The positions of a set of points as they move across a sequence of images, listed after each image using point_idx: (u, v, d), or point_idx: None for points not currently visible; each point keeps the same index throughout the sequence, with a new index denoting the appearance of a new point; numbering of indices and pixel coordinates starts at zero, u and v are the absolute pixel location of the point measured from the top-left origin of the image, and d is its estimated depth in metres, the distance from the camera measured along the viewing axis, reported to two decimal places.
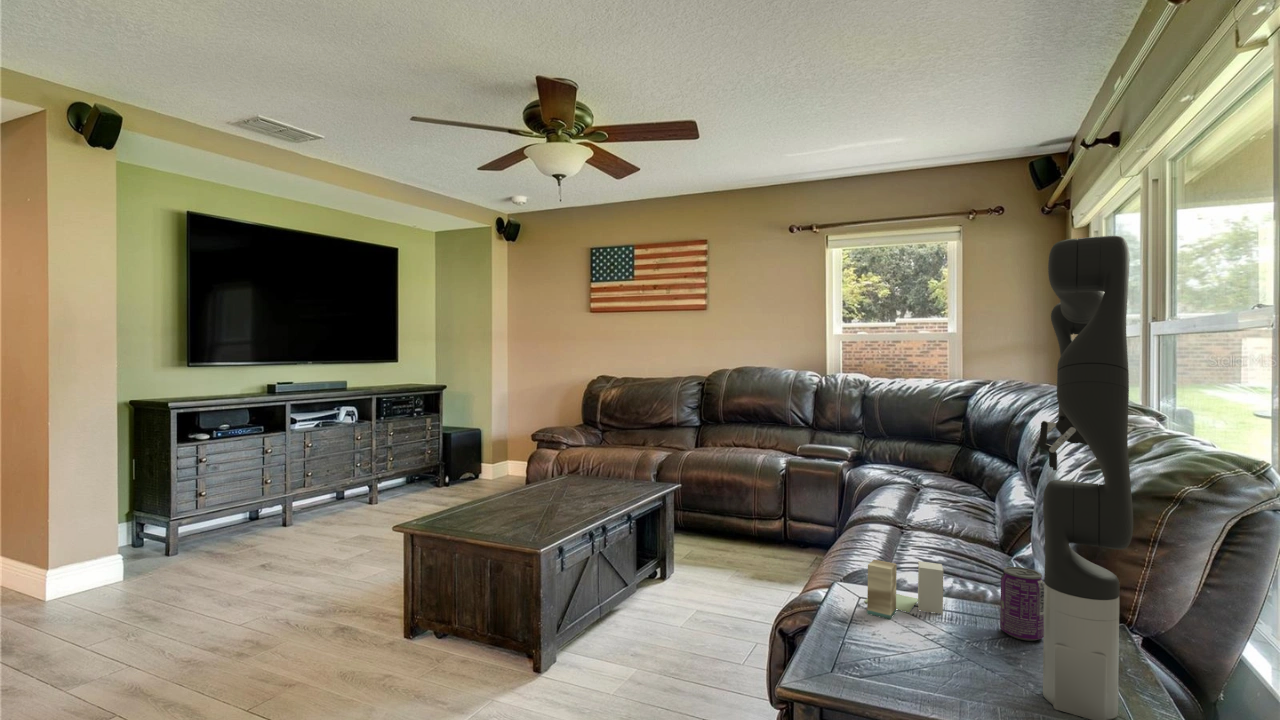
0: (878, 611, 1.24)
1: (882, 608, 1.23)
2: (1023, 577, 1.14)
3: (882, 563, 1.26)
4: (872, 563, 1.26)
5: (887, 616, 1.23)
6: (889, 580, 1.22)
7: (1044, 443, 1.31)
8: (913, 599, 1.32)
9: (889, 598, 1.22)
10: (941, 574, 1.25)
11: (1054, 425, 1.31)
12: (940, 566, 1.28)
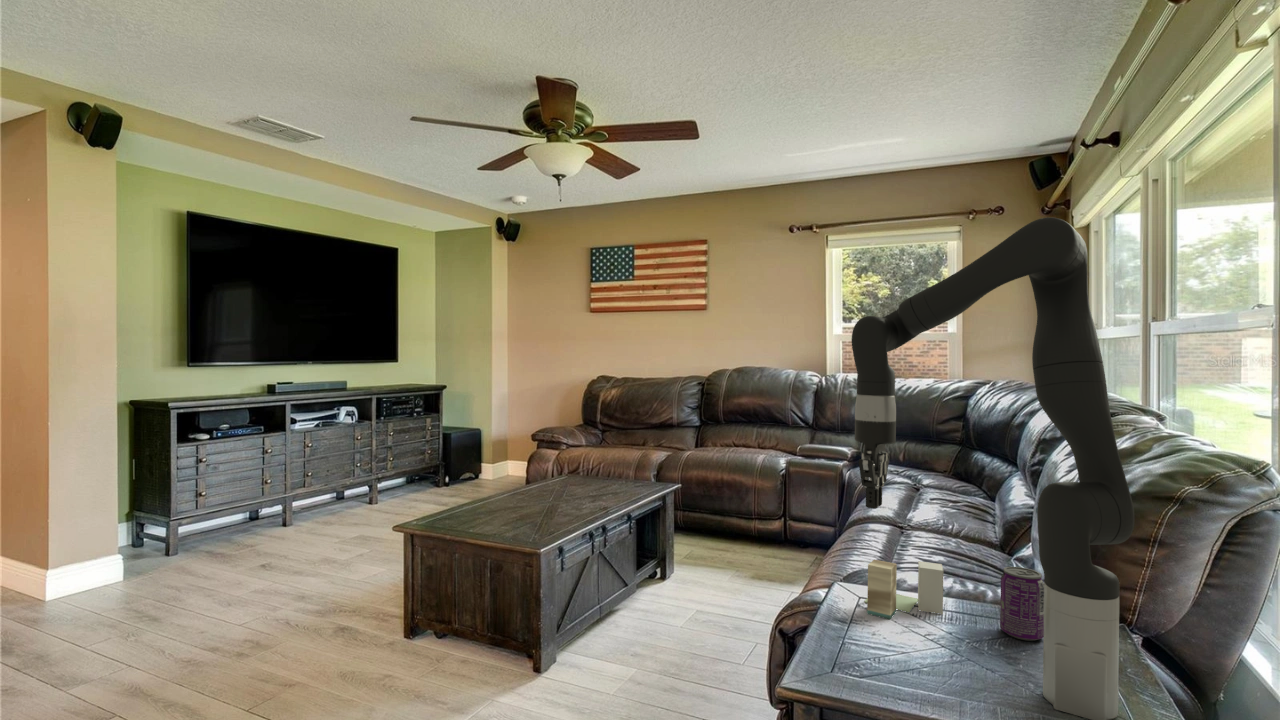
0: (878, 611, 1.24)
1: (882, 608, 1.23)
2: (1023, 577, 1.14)
3: (882, 563, 1.26)
4: (872, 563, 1.26)
5: (887, 616, 1.23)
6: (889, 580, 1.22)
7: (876, 480, 1.17)
8: (913, 599, 1.32)
9: (889, 598, 1.22)
10: (941, 574, 1.25)
11: (870, 458, 1.16)
12: (940, 566, 1.28)
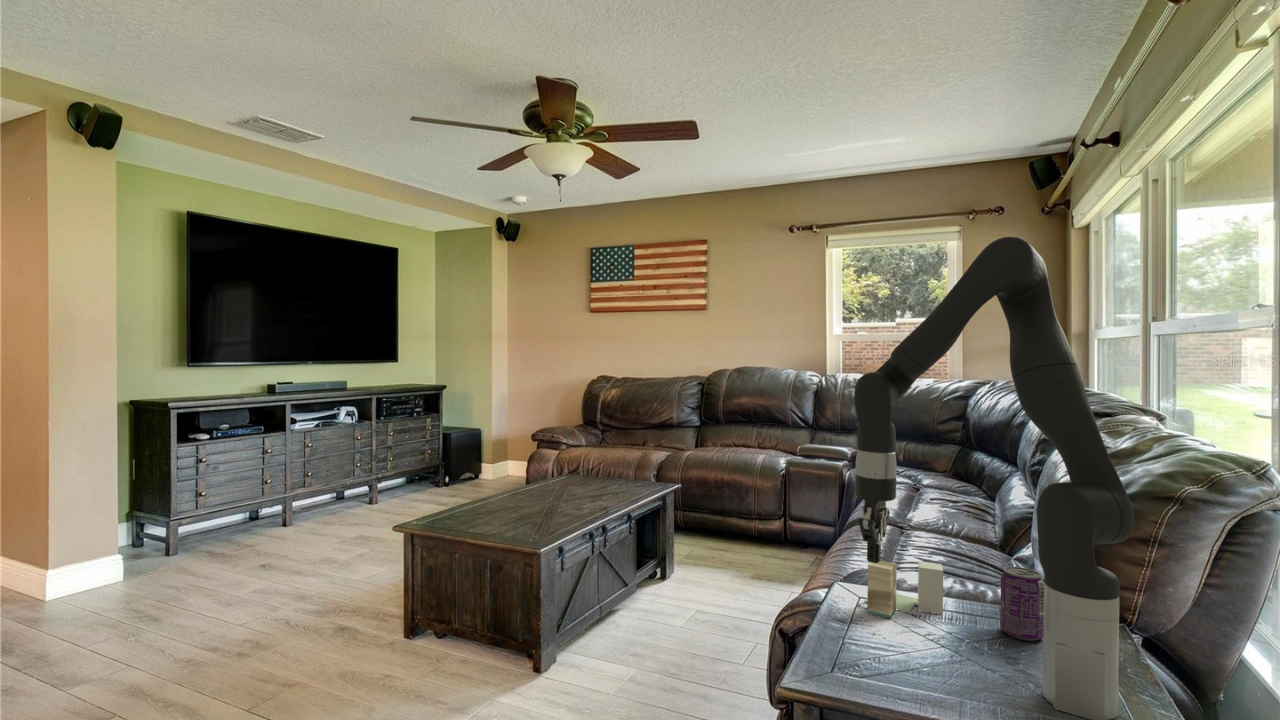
0: (878, 611, 1.24)
1: (882, 608, 1.23)
2: (1023, 577, 1.14)
3: (882, 563, 1.26)
4: (872, 563, 1.26)
5: (887, 616, 1.23)
6: (889, 580, 1.22)
7: (877, 536, 1.18)
8: (913, 599, 1.32)
9: (889, 598, 1.22)
10: (941, 574, 1.25)
11: (870, 516, 1.17)
12: (940, 566, 1.28)
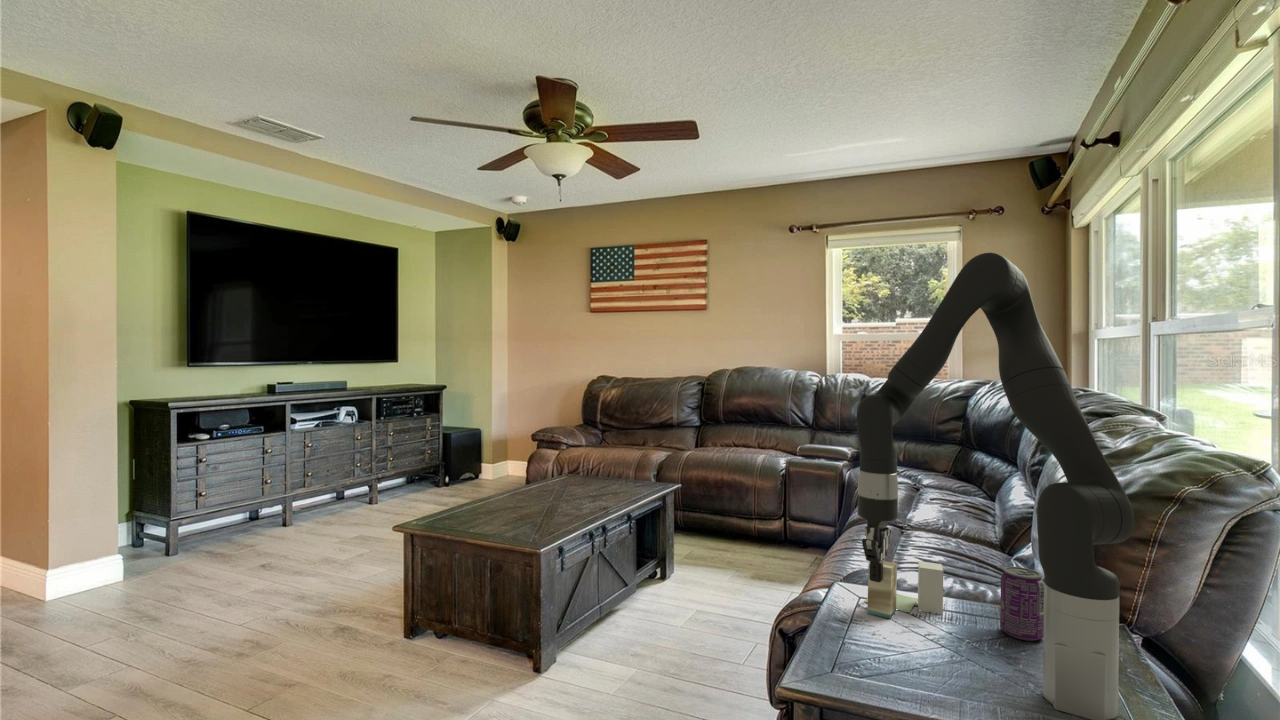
0: (878, 610, 1.24)
1: (882, 608, 1.23)
2: (1023, 577, 1.14)
3: (883, 563, 1.26)
4: None
5: (887, 615, 1.23)
6: (889, 579, 1.23)
7: (880, 556, 1.20)
8: (913, 599, 1.32)
9: (889, 597, 1.22)
10: (941, 574, 1.25)
11: (873, 536, 1.19)
12: (940, 566, 1.28)
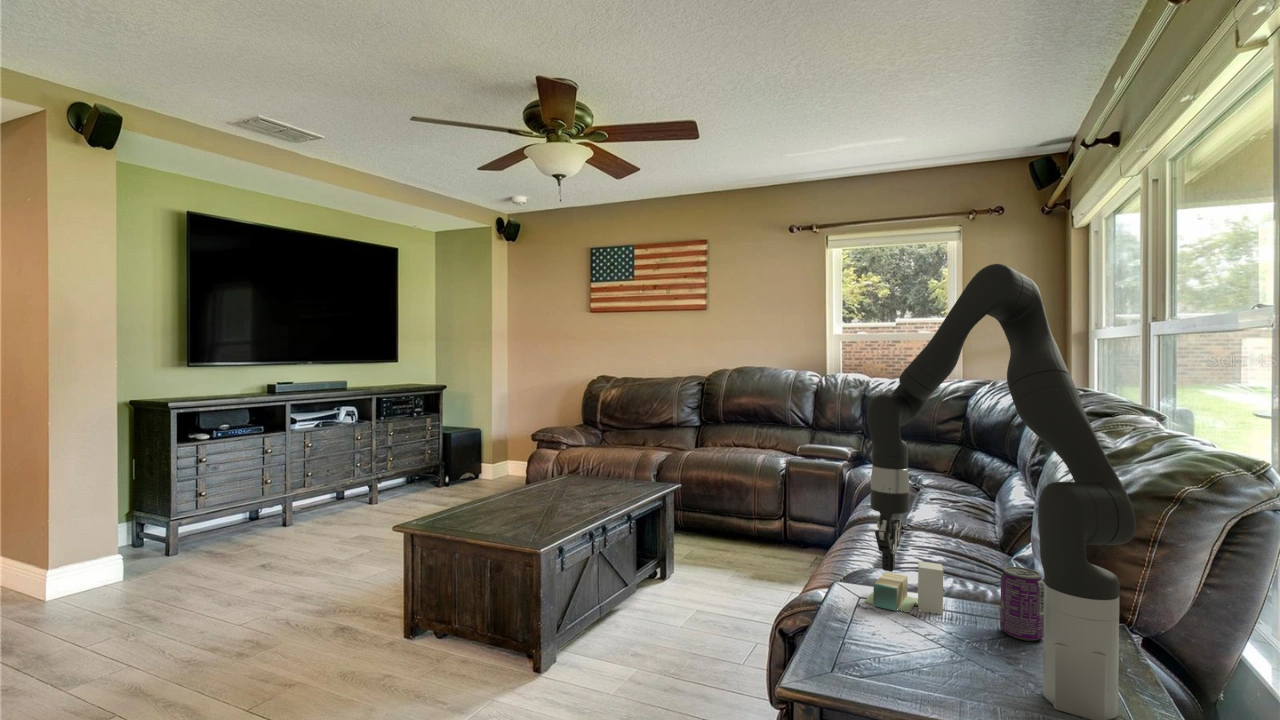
0: (885, 585, 1.28)
1: (890, 585, 1.28)
2: (1023, 577, 1.14)
3: None
4: None
5: (893, 587, 1.27)
6: (903, 578, 1.32)
7: (892, 547, 1.27)
8: (913, 599, 1.32)
9: (900, 583, 1.29)
10: (941, 574, 1.25)
11: (886, 527, 1.26)
12: (940, 566, 1.28)
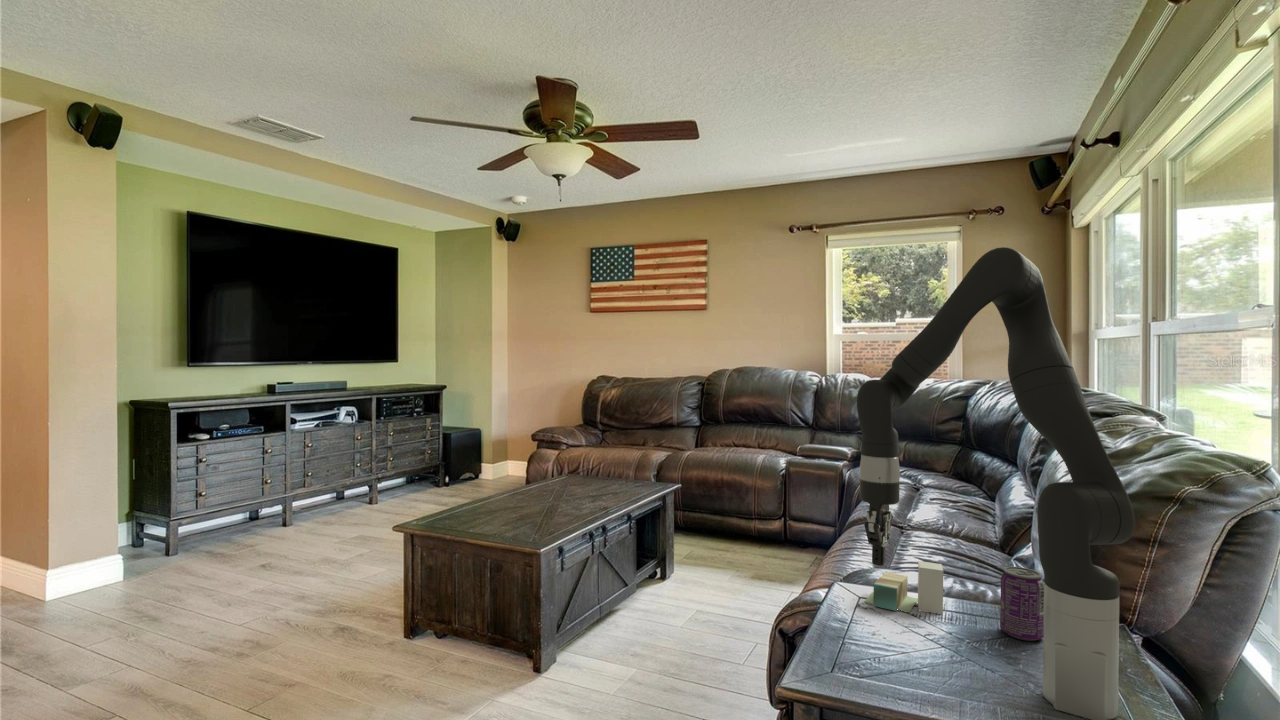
0: (885, 585, 1.28)
1: (890, 585, 1.28)
2: (1023, 577, 1.14)
3: None
4: None
5: (893, 587, 1.27)
6: (903, 578, 1.32)
7: (882, 539, 1.21)
8: (913, 599, 1.32)
9: (900, 583, 1.29)
10: (941, 574, 1.25)
11: (875, 519, 1.20)
12: (940, 566, 1.28)
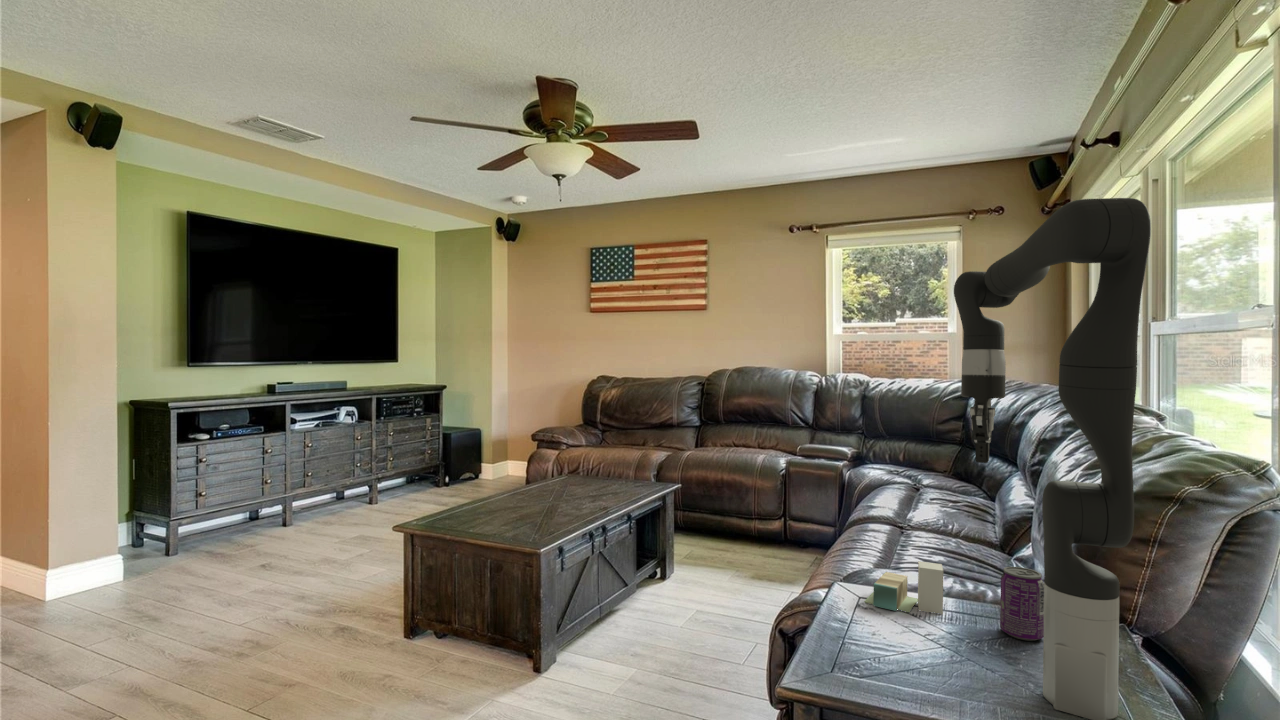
0: (885, 585, 1.28)
1: (890, 585, 1.28)
2: (1023, 577, 1.14)
3: None
4: None
5: (893, 587, 1.27)
6: (903, 578, 1.32)
7: (988, 434, 1.17)
8: (913, 599, 1.32)
9: (900, 583, 1.29)
10: (941, 574, 1.25)
11: (982, 412, 1.16)
12: (940, 566, 1.28)
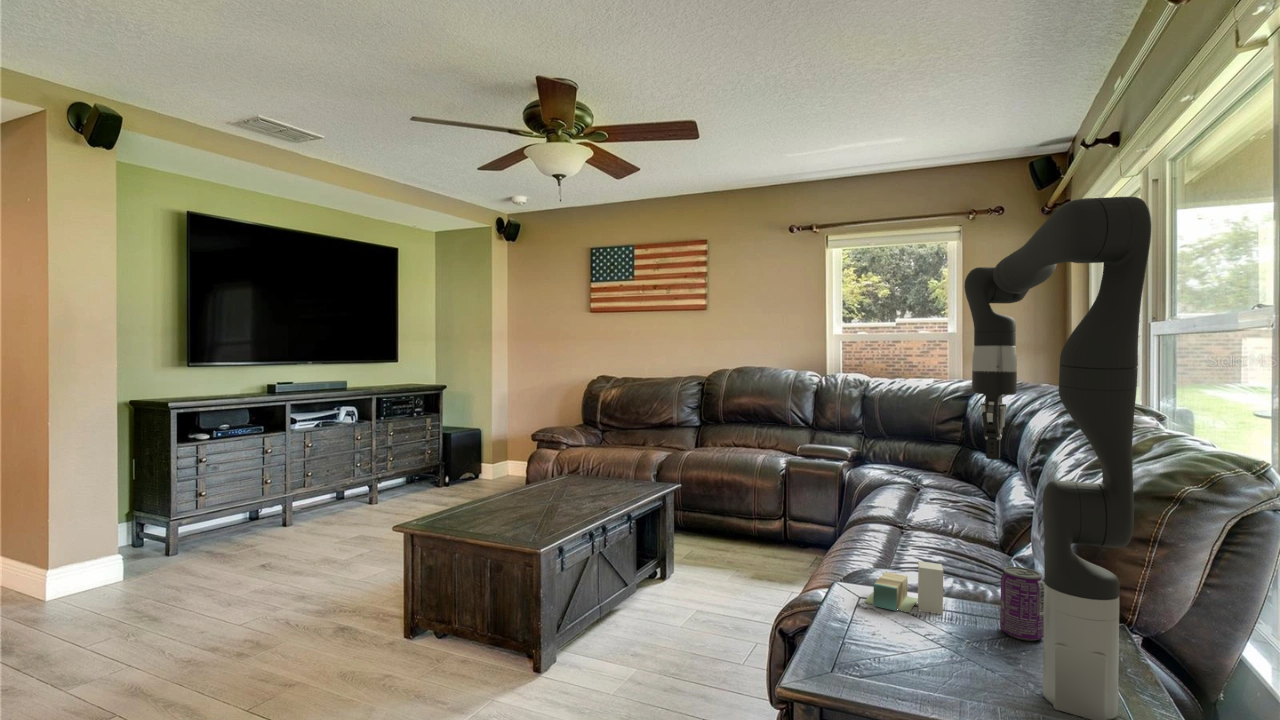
0: (885, 585, 1.28)
1: (890, 585, 1.28)
2: (1023, 577, 1.14)
3: None
4: None
5: (893, 587, 1.27)
6: (903, 578, 1.32)
7: (999, 431, 1.16)
8: (913, 599, 1.32)
9: (900, 583, 1.29)
10: (941, 574, 1.25)
11: (993, 409, 1.15)
12: (940, 566, 1.28)
